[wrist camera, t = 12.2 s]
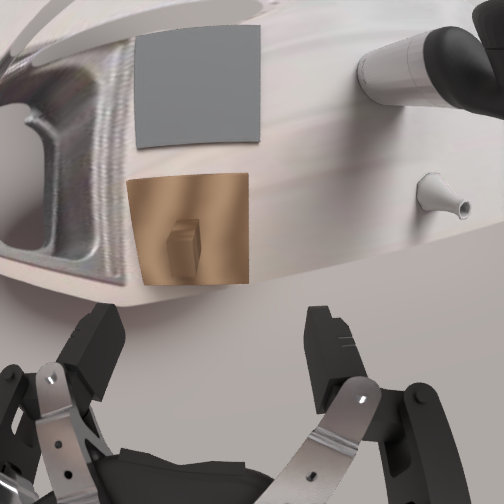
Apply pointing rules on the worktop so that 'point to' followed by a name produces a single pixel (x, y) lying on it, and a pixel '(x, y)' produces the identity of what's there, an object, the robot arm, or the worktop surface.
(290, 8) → the worktop surface
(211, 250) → the lid
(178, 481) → the robot arm
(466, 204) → the flask
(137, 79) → the mat
